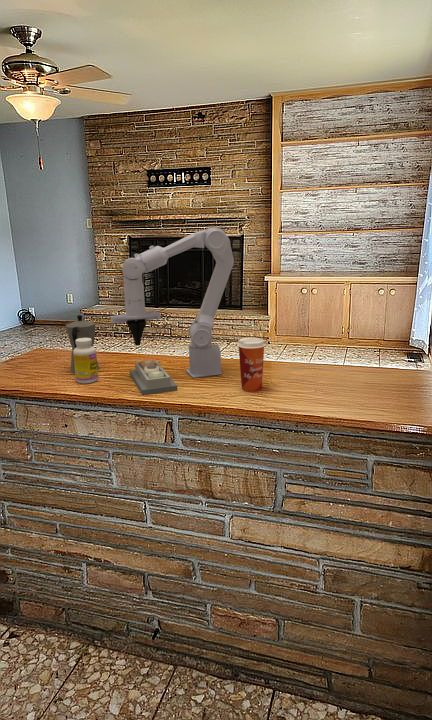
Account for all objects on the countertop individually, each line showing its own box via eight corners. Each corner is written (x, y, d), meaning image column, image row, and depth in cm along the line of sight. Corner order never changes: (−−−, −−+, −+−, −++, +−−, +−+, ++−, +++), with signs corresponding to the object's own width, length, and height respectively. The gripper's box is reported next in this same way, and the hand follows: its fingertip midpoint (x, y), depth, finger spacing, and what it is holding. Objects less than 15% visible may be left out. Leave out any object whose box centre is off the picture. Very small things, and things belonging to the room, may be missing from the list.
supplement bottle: (93, 384, 152) (88, 342, 148) (72, 383, 153) (67, 342, 149) (102, 377, 158) (98, 337, 154) (82, 376, 159) (78, 336, 156)
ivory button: (157, 374, 154) (157, 364, 154) (161, 378, 150) (160, 368, 150) (143, 376, 153) (142, 365, 152) (146, 380, 149) (145, 369, 148)
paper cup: (247, 394, 140) (246, 345, 136) (233, 386, 146) (232, 339, 142) (271, 389, 143) (271, 341, 139) (256, 382, 150) (256, 335, 146)
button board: (161, 370, 163) (160, 358, 162) (177, 390, 145) (176, 377, 144) (129, 374, 160) (129, 362, 159) (142, 395, 142) (141, 381, 140)
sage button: (162, 380, 149) (161, 369, 148) (165, 384, 145) (165, 373, 144) (147, 381, 148) (146, 371, 147) (150, 386, 144) (149, 375, 143)
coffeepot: (75, 364, 173) (69, 311, 168) (103, 363, 173) (98, 310, 168) (63, 378, 158) (56, 321, 153) (93, 377, 158) (88, 320, 153)
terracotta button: (153, 368, 160) (153, 358, 159) (156, 372, 156) (156, 362, 155) (139, 370, 159) (138, 360, 158) (142, 374, 155) (141, 364, 154)
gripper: (155, 296, 157) (157, 339, 160) (107, 299, 152) (111, 344, 156) (161, 299, 150) (163, 344, 154) (111, 303, 145) (114, 349, 149)
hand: (137, 344), depth 154 cm, fingers closed
